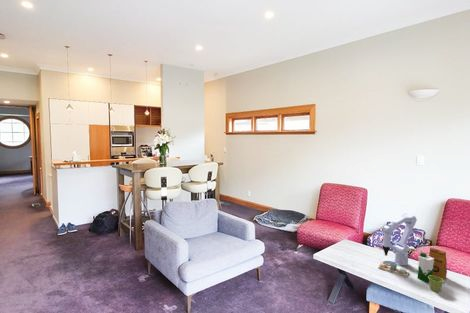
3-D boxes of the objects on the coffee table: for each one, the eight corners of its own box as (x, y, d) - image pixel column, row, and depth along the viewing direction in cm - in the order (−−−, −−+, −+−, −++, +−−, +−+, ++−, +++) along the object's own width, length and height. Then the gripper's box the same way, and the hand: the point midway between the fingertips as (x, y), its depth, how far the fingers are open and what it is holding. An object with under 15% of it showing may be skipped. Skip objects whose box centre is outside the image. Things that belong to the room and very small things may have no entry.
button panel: (408, 273, 223) (408, 271, 223) (407, 277, 217) (407, 275, 217) (380, 265, 237) (380, 263, 237) (378, 268, 231) (378, 266, 231)
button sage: (406, 273, 223) (406, 269, 222) (405, 275, 220) (405, 271, 219) (400, 271, 225) (400, 268, 225) (399, 273, 222) (400, 269, 222)
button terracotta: (387, 267, 232) (387, 264, 231) (386, 269, 229) (386, 265, 228) (381, 266, 234) (382, 262, 234) (380, 267, 231) (380, 264, 231)
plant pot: (424, 286, 203) (424, 275, 203) (435, 286, 204) (436, 275, 204) (434, 293, 194) (435, 282, 194) (446, 293, 195) (447, 281, 194)
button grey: (396, 269, 227) (396, 265, 227) (395, 270, 224) (395, 267, 224) (391, 267, 230) (391, 264, 229) (390, 269, 227) (390, 265, 226)
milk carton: (421, 275, 220) (423, 251, 219) (434, 280, 212) (436, 255, 211) (415, 277, 216) (417, 253, 215) (427, 283, 208) (429, 258, 207)
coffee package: (443, 281, 211) (445, 253, 210) (425, 274, 222) (427, 248, 220) (448, 278, 217) (450, 251, 215) (430, 271, 227) (432, 245, 226)
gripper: (376, 238, 236) (375, 254, 237) (395, 243, 227) (394, 259, 228) (378, 236, 241) (377, 251, 242) (397, 241, 232) (396, 256, 233)
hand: (386, 255), depth 235 cm, fingers closed
